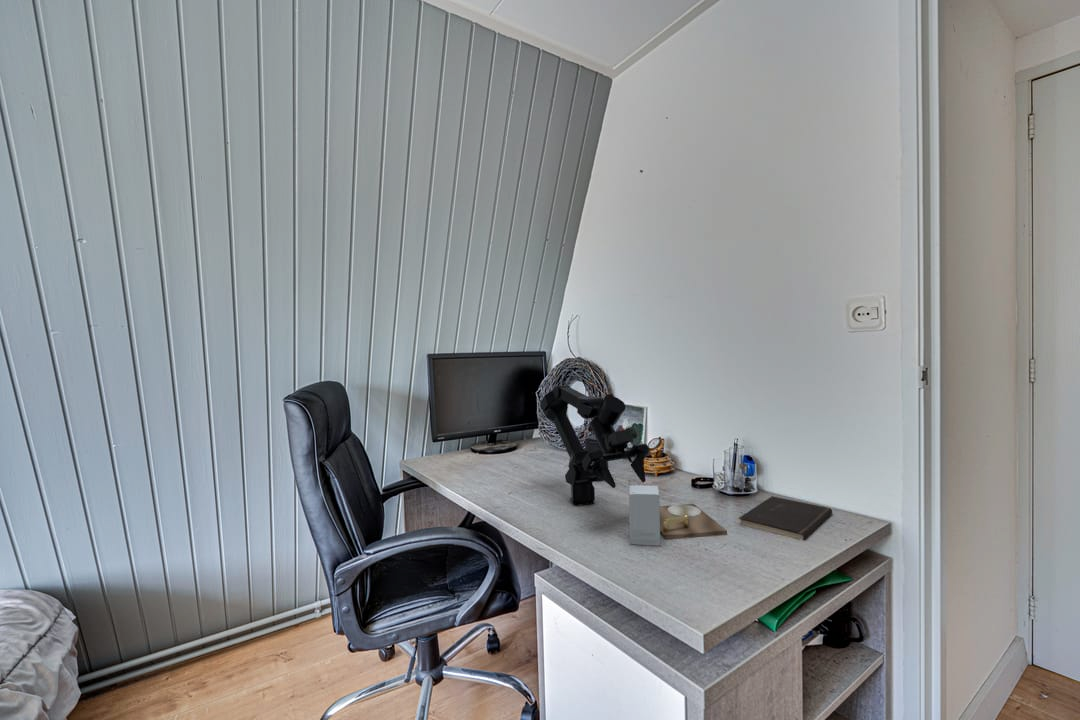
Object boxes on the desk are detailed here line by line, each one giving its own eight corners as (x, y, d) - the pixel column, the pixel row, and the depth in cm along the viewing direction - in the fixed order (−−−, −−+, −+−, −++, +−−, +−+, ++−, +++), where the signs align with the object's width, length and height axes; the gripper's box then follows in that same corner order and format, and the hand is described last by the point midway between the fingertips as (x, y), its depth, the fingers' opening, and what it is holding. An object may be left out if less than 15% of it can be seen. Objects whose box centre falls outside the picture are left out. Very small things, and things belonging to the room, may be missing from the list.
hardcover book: (738, 526, 130) (738, 517, 129) (771, 503, 146) (771, 496, 146) (804, 543, 118) (804, 534, 118) (832, 516, 134) (832, 508, 134)
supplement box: (660, 546, 118) (659, 494, 117) (629, 544, 119) (628, 493, 119) (659, 534, 125) (658, 485, 124) (630, 532, 126) (628, 484, 126)
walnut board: (664, 539, 122) (664, 534, 122) (639, 511, 141) (639, 506, 141) (727, 534, 123) (726, 529, 123) (693, 507, 143) (693, 503, 143)
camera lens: (595, 474, 180) (594, 433, 180) (613, 478, 175) (612, 436, 174) (581, 479, 175) (580, 437, 174) (599, 483, 169) (598, 440, 168)
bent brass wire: (677, 535, 121) (676, 523, 121) (662, 531, 124) (662, 519, 124) (698, 521, 130) (698, 509, 130) (684, 517, 133) (683, 506, 132)
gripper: (586, 421, 127) (610, 473, 118) (645, 414, 135) (672, 462, 125) (572, 445, 135) (594, 496, 125) (629, 437, 142) (654, 485, 133)
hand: (629, 484), depth 127 cm, fingers open, 9 cm apart
